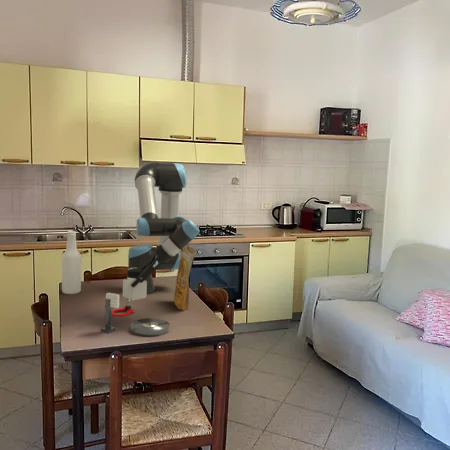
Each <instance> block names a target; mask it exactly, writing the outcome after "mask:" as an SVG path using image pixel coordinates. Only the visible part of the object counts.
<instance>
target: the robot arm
mask: <svg viewBox="0 0 450 450" xmlns="http://www.w3.org/2000/svg"><path fill="white" fill-rule="evenodd" d="M134 186H135V188H136V190H137V196H138V205H139V216H140V217H138V218H137V220H136V233H137V235H138V236H139V237H159V240H158V242H156V247H155V246H153V245H152V244H150V243H141V244H134V245H132V246H131V247H129V248H128V253H127V254H128V255H127V258H128V260H127V261H128V263H127V264H128V265H127V270H128V269H130V268H140V269H142V270H143V271H142V272H141V273H140V275H139V276H138V277H136V276H135V279H134V280H133V281H132V282H130V283H129V284H128V285H127V286H126V287H125V288H124V290H125V291H126V292H127V293H128V294H129V293H130V292H131V291H132V290H133V289H134V288H135V287H136V286H138V285H139V284H140V283H142V282H143V281H144V280H145V281H147V295H149V294H152V293H154V292H155V290H156V287H155V283H154V280H153V275H152V273H153V272H154V271H175V270H177V271H178V268H179V260H180V250H182V249H183V248H184V247H185V246H186V245H188V244H189V243H191V242H192V241H193V240H194V239H195V238H196V237H197V236H198V235H199V234H200V229H199V228H198V226H197V225H196V224H195V223H194V222H193V221H192V220H191V219H185V218H184V217H183V216H181V215H180V216H179V204H180V203H179V201H180V200H179V199H180V194H181V193H183V189H185V188H186V186H187V175H186V170H185V167H184V165H183V164H181V163H177V162H176V163H175V162H156V161H155V162H148V163H145V164H144V165H142V166H141V167H140V168H139V169H138V170H137V172H136V174H135V177H134ZM156 187H157V188H158V191H159V193H160V194H161V197H160V198H161V200H160V201H161V202H160V203H161V204H160V205H161V206H160V217H159V213H158V206H157V205H158V204H157V200H156V192H155V188H156ZM141 278H142V279H141Z"/></svg>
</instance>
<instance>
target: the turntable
mask: <svg viewBox="0 0 450 450" xmlns="http://www.w3.org/2000/svg"><path fill="white" fill-rule="evenodd" d="M170 324H171V323H169V322H168V321H167V320H165V319H162V318H154V317H146V318H140V319H136V320H134V321H132V322H130V325H129V326H130V327H129V328H130V332H131V333H132V334H133V335H136V336H139V337H159V336H163V335H165V334H168V333H169V332H170Z"/></svg>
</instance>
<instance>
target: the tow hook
mask: <svg viewBox="0 0 450 450" xmlns="http://www.w3.org/2000/svg"><path fill="white" fill-rule="evenodd" d="M117 312H118V313H117ZM119 312H124V313H119ZM133 313H135V309H133V308H132V305H131V300H130V299H127V298H126V300H125V306H122V307H120V308H114V309H111V317H117V318H119V317H120V318H122V317H127V316H129V315H131V314H133Z"/></svg>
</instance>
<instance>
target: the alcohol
mask: <svg viewBox="0 0 450 450" xmlns="http://www.w3.org/2000/svg"><path fill="white" fill-rule="evenodd" d="M66 233H67V239H66V248H65V251H64V252H63V253H62V257H61V291H62V293H63V294H65V295H76V294H79V293H80V292H81V291H82V256H81V253H80V252H79V250H78V248H77V236H76V235H77V234H76V233H77V231H75V230H68V231H67V232H66Z"/></svg>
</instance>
